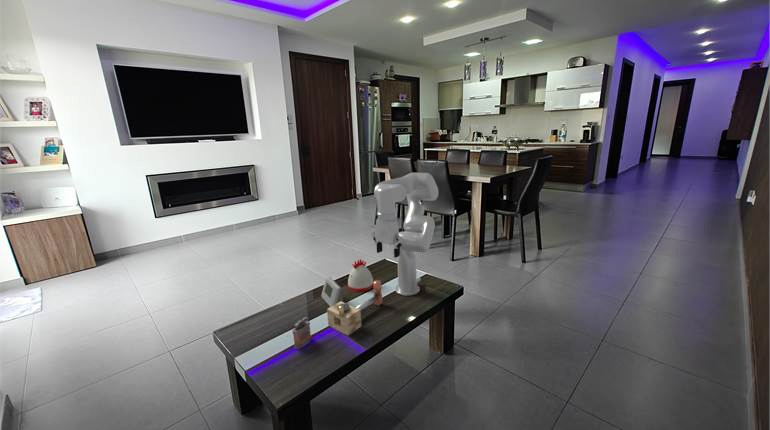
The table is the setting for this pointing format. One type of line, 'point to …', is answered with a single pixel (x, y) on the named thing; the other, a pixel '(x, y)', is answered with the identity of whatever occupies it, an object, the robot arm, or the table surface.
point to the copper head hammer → (377, 296)
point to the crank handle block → (342, 309)
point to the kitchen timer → (360, 277)
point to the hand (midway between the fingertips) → (388, 254)
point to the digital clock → (331, 292)
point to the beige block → (344, 319)
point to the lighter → (301, 333)
